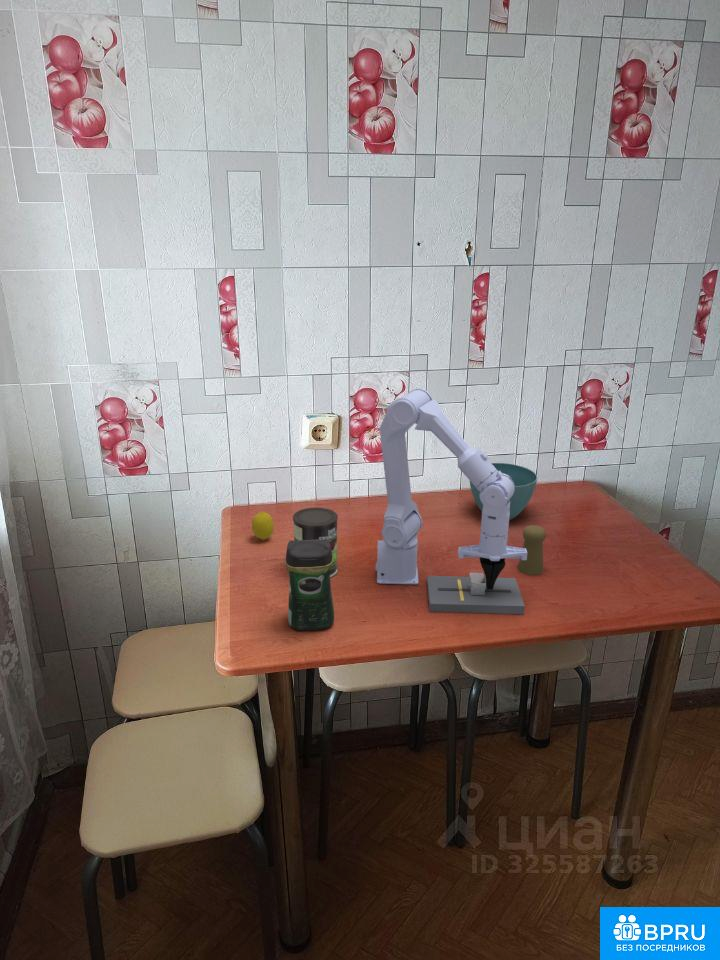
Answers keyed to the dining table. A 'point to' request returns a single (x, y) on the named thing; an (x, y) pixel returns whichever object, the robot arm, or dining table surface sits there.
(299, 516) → the coffee can
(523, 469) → the teal bowl
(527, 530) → the cork
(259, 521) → the lemon
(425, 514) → the dining table surface
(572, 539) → the dining table surface
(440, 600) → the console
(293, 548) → the coffee jar
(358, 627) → the dining table surface
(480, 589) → the fader
